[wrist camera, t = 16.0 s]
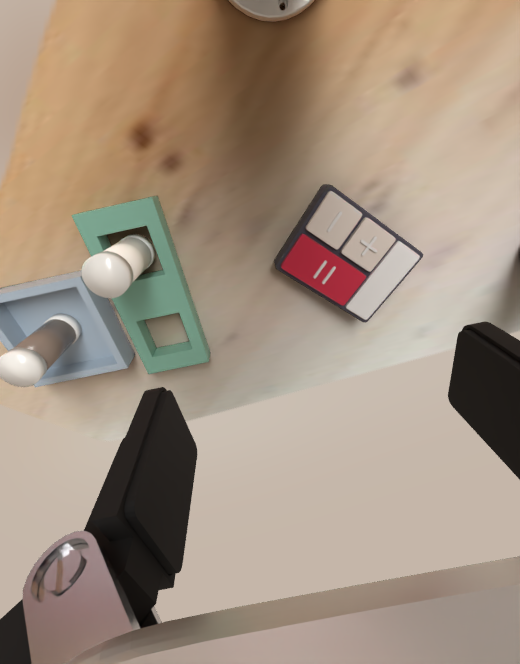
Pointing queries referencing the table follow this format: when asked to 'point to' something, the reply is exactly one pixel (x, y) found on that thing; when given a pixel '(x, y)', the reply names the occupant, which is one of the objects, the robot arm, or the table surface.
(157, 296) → the block
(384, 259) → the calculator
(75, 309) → the parts tray
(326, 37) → the table surface
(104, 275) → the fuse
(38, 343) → the fuse
